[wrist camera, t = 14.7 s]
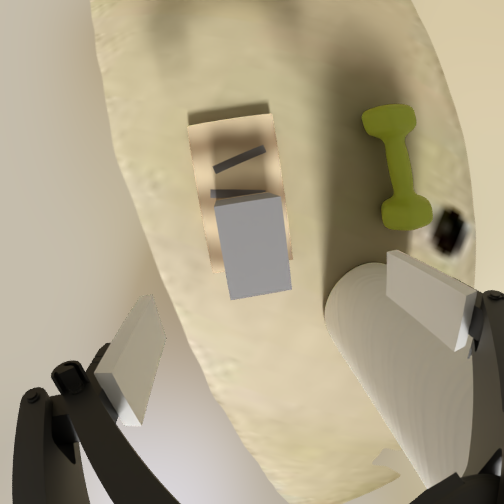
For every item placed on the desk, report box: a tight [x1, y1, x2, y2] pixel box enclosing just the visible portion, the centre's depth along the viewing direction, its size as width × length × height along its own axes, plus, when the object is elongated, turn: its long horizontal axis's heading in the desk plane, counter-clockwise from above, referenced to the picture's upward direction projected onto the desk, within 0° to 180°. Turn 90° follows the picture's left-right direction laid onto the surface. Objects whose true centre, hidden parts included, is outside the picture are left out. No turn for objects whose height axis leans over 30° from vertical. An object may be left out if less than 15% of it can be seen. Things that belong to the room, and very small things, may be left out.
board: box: [187, 113, 293, 273], centre depth 33 cm, size 18×10×2 cm, turn 9°
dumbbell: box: [362, 104, 433, 231], centre depth 32 cm, size 16×8×7 cm, turn 14°
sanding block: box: [214, 192, 292, 300], centre depth 30 cm, size 9×6×8 cm, turn 8°
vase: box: [324, 262, 473, 489], centre depth 25 cm, size 14×14×32 cm
